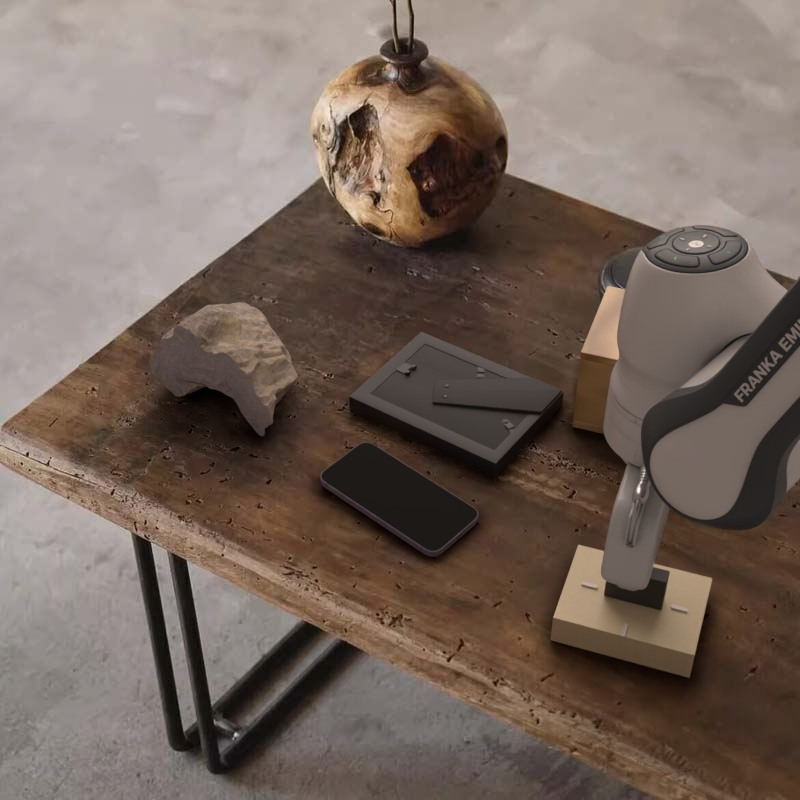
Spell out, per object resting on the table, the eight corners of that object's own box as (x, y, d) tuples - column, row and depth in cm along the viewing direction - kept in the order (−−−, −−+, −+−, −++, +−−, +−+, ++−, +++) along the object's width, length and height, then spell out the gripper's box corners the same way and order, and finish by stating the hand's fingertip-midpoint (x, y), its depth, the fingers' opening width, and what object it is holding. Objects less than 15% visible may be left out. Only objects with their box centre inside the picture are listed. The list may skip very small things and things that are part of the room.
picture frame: (562, 405, 137) (421, 345, 145) (564, 388, 136) (421, 328, 143) (495, 478, 129) (348, 410, 136) (496, 461, 127) (348, 393, 135)
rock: (148, 392, 139) (137, 313, 133) (234, 338, 148) (227, 261, 142) (259, 450, 132) (252, 368, 126) (343, 389, 140) (340, 309, 134)
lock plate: (707, 600, 117) (713, 576, 115) (689, 679, 110) (694, 655, 108) (575, 566, 120) (578, 542, 118) (549, 641, 113) (552, 617, 111)
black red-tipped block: (664, 598, 113) (670, 568, 111) (661, 611, 112) (667, 581, 110) (607, 583, 114) (611, 554, 112) (603, 595, 113) (608, 566, 111)
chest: (726, 386, 139) (740, 319, 134) (707, 458, 131) (721, 389, 125) (598, 359, 143) (606, 292, 137) (572, 427, 134) (579, 359, 129)
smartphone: (433, 555, 120) (315, 476, 127) (433, 564, 121) (315, 484, 128) (483, 512, 124) (366, 438, 131) (482, 520, 125) (365, 446, 132)
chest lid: (748, 320, 133) (756, 282, 130) (730, 390, 125) (738, 352, 122) (606, 291, 137) (611, 255, 134) (579, 358, 129) (584, 320, 126)
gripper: (679, 521, 92) (653, 646, 101) (726, 348, 106) (699, 472, 115) (591, 498, 93) (572, 624, 102) (649, 332, 108) (628, 455, 117)
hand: (640, 542), depth 109 cm, fingers open, 8 cm apart
